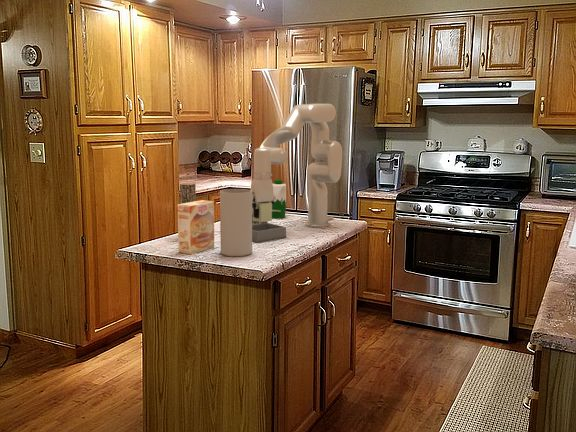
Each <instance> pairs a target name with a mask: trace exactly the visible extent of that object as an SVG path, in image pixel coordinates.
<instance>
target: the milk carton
mask: <svg viewBox="0 0 576 432" xmlns="http://www.w3.org/2000/svg"><path fill="white" fill-rule="evenodd" d="M273 195H274V196H275V197H276V201H275V202H274V204H273V205H272V219H275V220H276V219H279V220H280V219H282V220H284V218H285V217H286V213H287V212H286V211H287V184H286V183H283V180H282V179H275V180H274V183H273Z"/></svg>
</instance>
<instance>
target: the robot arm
mask: <svg viewBox="0 0 576 432" xmlns="http://www.w3.org/2000/svg"><path fill="white" fill-rule="evenodd" d="M336 114H337V110H336V108H335V106H334V105H333V104H331V103H307V104H306V103H305V104H303V103H302V104H296V105H294V106H293V108H292V109H291V110H290V112H289V114H288V116H287V117H286V119H285V120H284V122H283V123H282V125H281V126H280V127H279V128H277V129H276V130H274V131H273V132H271V133H270V134H269V135H268V136H267V137H265V139H264V140H263V141H262V143H261V144H260V146H259V147H257V148H255V149H254V151H253V179H252V180H251V185H250V190H252V208H253V215H254V217H255V218H259V209H258V207H259V203H261V202H268V203H272V205H273V204H274V202H275V201H276V197H275V196H274V195H273V184H274V183H273V180H272V177H273V173H272V165H282V164H284V163H286V161H287V159H288V152H287V151H286V150H285V149H284V148H282V147H279V146H280V145H282V144H285V143H288V142H290V141H293V140H294V139H296V138H297V137H298V136H299V134H300V132H301V131H302V129H303V128H304V126H305V124H308V125H309V127H310V128H311V142H310V143H311V145H310V146H311V147H310V155H311V157H312V158H313V159H314V160H315V159H316V160H322V161H327V162H320V161H319V162H318V161H317V162H316V161H314V162H312V163H309V164H308V165H307V169H306V178H307V182H308V183H307V184H308V185H307V187H308V197H307V199H308V202H307V203H308V204H307V206H308V207H307V209H308V210H307V211H308V212H307V221H305V223H304V226H306V227H309V228H328V227H330V226H331V222H330V221H333V220H334V219H335V218H334V215H333V216H329V215H328V195H329V194H328V190H329V189H328V187H327V184H326V183H329V184H334V183H338V181H340V179H341V175H342V168H343V167H342V165H343V148H342V144H341V143H340V142H339V141H337V140H330V128H329V125H328V123H329V122H332V121H333V120H334V119H335V117H336ZM253 202H254V203H253Z"/></svg>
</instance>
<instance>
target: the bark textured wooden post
mask: <svg viewBox="0 0 576 432" xmlns="http://www.w3.org/2000/svg"><path fill="white" fill-rule="evenodd" d="M196 189H197V188H196V182H195V181H181V182H179V204H183V203H189V202H194V201H197V200H196V199H197V198H196V197H197V195H196V193H197V192H196V191H197V190H196Z"/></svg>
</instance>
